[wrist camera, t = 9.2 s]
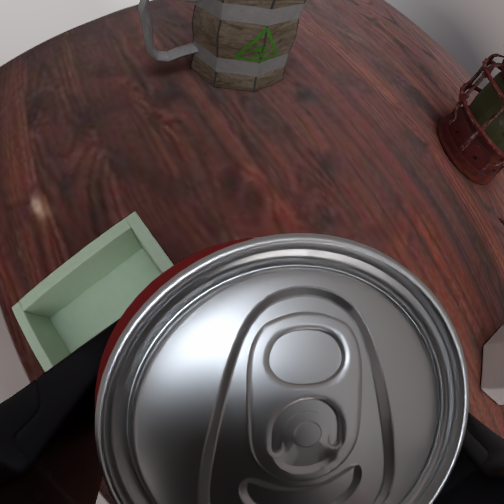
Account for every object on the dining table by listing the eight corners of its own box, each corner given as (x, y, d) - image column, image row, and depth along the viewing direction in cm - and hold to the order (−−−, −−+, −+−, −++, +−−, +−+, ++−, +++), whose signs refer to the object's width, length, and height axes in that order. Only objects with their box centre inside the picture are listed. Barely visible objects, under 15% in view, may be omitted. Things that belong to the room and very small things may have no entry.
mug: (267, 35, 33) (287, -43, 21) (301, 88, 30) (336, -3, 19) (141, 50, 29) (134, -36, 18) (151, 109, 26) (138, 2, 15)
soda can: (164, 437, 13) (90, 595, 2) (166, 306, 15) (76, 179, 4) (298, 436, 14) (463, 543, 3) (298, 311, 16) (472, 215, 5)
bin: (121, 435, 18) (102, 453, 14) (41, 316, 19) (10, 307, 15) (235, 351, 21) (242, 352, 17) (146, 236, 23) (135, 210, 18)
